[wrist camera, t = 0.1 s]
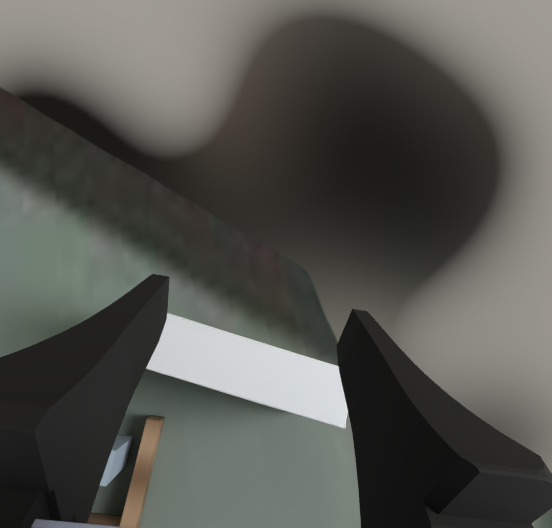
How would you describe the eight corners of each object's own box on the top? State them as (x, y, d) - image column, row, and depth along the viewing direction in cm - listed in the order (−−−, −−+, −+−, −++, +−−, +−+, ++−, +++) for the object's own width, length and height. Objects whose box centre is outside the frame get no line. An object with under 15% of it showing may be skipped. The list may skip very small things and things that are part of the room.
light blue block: (125, 465, 38) (106, 486, 31) (42, 455, 37) (4, 474, 30) (133, 436, 39) (115, 450, 32) (52, 425, 38) (17, 438, 31)
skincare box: (311, 370, 44) (358, 371, 29) (301, 413, 42) (345, 438, 28) (157, 322, 43) (125, 298, 28) (140, 364, 41) (95, 363, 26)
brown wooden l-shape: (136, 534, 36) (127, 554, 32) (4, 521, 35) (-23, 540, 31) (164, 417, 40) (158, 422, 36) (46, 400, 38) (27, 404, 35)
